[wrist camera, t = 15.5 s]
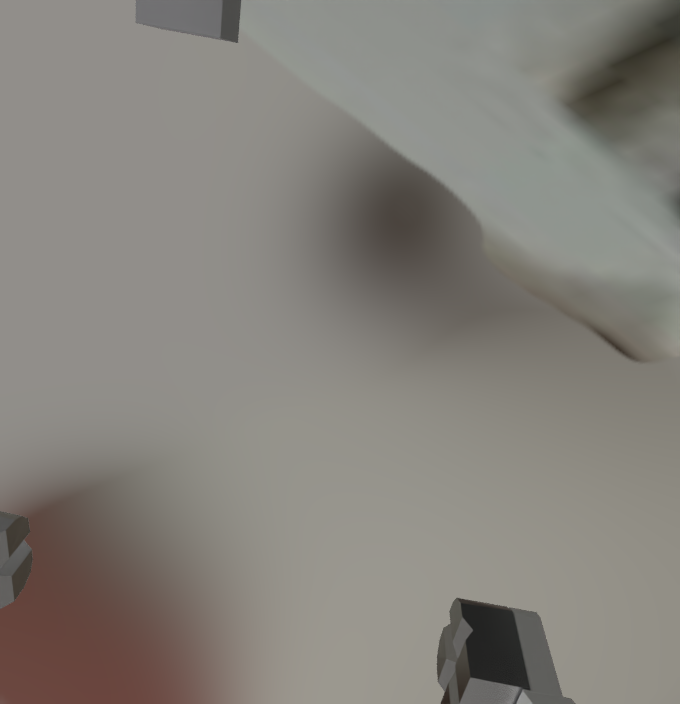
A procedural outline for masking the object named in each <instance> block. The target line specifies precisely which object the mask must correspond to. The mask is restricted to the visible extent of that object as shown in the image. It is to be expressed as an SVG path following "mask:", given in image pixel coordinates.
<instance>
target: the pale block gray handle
mask: <svg viewBox="0 0 680 704" xmlns="http://www.w3.org/2000/svg"><path fill="white" fill-rule="evenodd" d="M240 7H241V0H136V23H139V24H143V25H147V26H152V27H156V28H160V29H165V30H170V31H176V32H181V33H187V34H192V35H198V36H203V37H209V38H214V39H219V40H225V41H231V42H236V43H238V33H239V20H240Z"/></svg>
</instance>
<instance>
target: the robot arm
mask: <svg viewBox="0 0 680 704" xmlns="http://www.w3.org/2000/svg"><path fill="white" fill-rule="evenodd" d="M29 533H30V528H29V522H28V518H25V517H23V516H20V515H15V514H10V513H6V512H1V511H0V609H1V608H3V607H4V606H6V605H8V604H10V603H12V602H13V601H15V599H16V598H17V597H18V595H19V594H20V592H21V591H22V589H23V588H24V586H25V584H26V581H27V579H28V577H29V574H30V571H31V566H32V549H31V548H30V547H29V546H28V544H26V542H25V541H24V539H25V538H26V536H27V535H28V534H29ZM450 620H451V624H449V625H448V626H446V627H444V628H443V631H442V634H441V638H440V641H439V648H438V655H437V675H438V683H439V684H440V685H441V687H442V688H443V690H444V691H445V693H444V696H443V699H442V701H441V704H575V703H574V701H573V700H572V699H570V698H566V697H563V696H562V692H561V689H560V685H559V682H558V678H557V675H556V671H555V668H554V664H553V661H552V657H551V654H550V650H549V646H548V643H547V639H546V636H545V632H544V629H543V625H542V622H541V619H540V617H539V615H538V614H537V613H536V612H532V611H526V610H521V609H515V608H508V607H505V606H500V605H494V604H489V603H483V602H477V601H472V600H465V599H460V598H456V599H455V600H454V602H453V604H452V606H451V609H450Z"/></svg>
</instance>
